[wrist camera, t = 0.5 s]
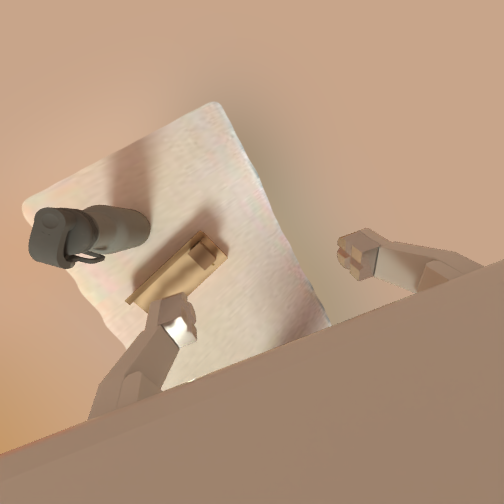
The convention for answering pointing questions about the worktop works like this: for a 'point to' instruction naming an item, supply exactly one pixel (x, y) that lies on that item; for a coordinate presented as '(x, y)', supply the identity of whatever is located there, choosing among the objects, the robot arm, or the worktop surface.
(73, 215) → the water bottle
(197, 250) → the brown block
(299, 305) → the worktop surface
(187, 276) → the board
